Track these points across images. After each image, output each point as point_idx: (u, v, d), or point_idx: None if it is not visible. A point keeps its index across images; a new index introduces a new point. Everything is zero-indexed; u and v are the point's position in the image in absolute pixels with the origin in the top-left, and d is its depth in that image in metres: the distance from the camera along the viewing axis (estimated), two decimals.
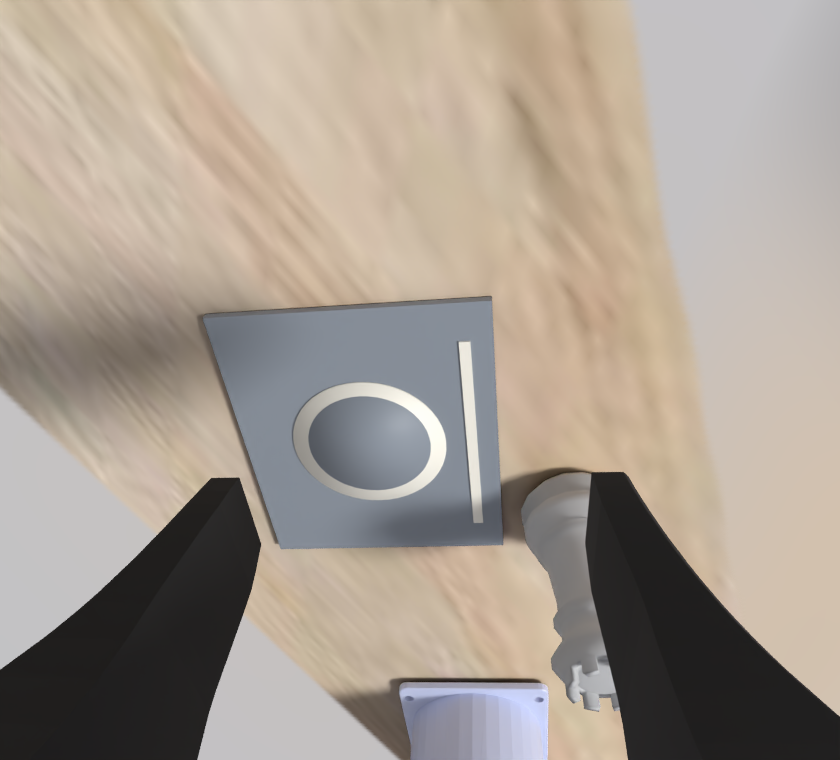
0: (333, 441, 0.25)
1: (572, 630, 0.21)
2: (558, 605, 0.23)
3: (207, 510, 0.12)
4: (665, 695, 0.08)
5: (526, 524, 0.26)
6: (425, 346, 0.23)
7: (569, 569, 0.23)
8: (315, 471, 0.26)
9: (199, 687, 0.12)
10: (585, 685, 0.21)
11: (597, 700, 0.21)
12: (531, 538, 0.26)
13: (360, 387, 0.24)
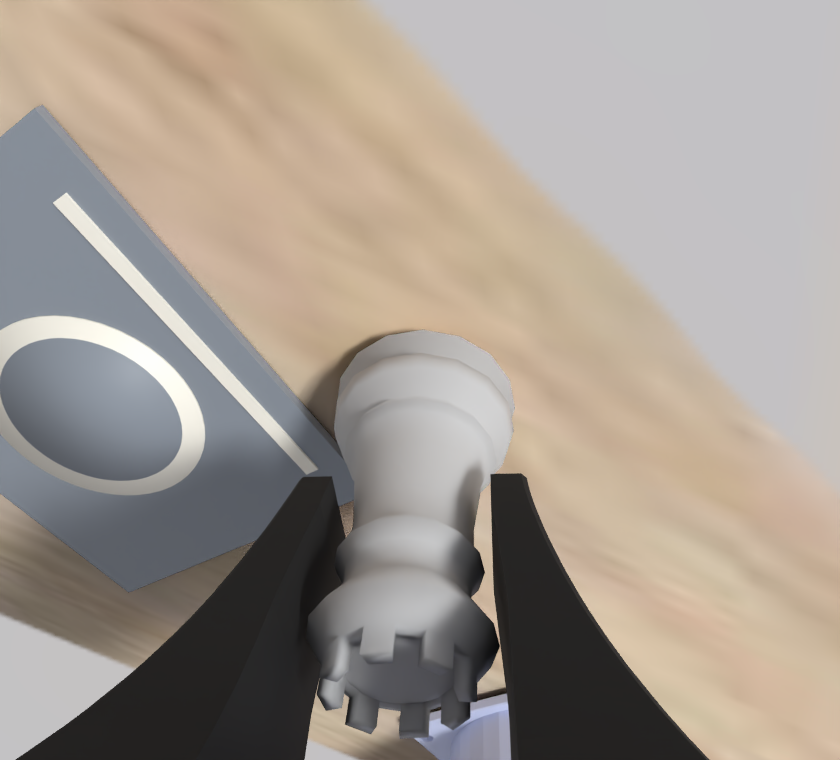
0: (53, 427, 0.18)
1: None
2: None
3: (307, 508, 0.12)
4: (513, 692, 0.09)
5: None
6: (25, 232, 0.14)
7: (358, 492, 0.13)
8: (69, 476, 0.19)
9: (305, 689, 0.11)
10: (375, 694, 0.11)
11: (418, 716, 0.11)
12: None
13: (11, 335, 0.16)
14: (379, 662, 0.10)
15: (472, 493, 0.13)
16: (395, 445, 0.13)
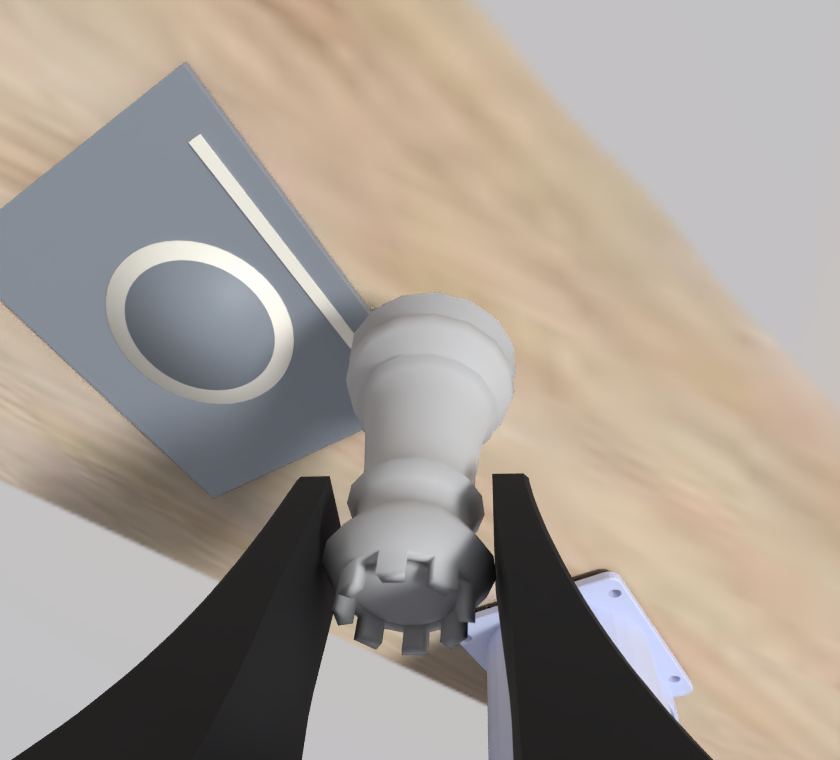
0: (165, 341, 0.21)
1: None
2: None
3: (305, 508, 0.12)
4: (516, 692, 0.08)
5: None
6: (162, 168, 0.18)
7: (370, 438, 0.14)
8: (174, 387, 0.22)
9: (302, 689, 0.11)
10: (381, 614, 0.12)
11: (419, 636, 0.12)
12: None
13: (139, 258, 0.20)
14: (391, 581, 0.11)
15: (476, 444, 0.14)
16: (407, 396, 0.14)
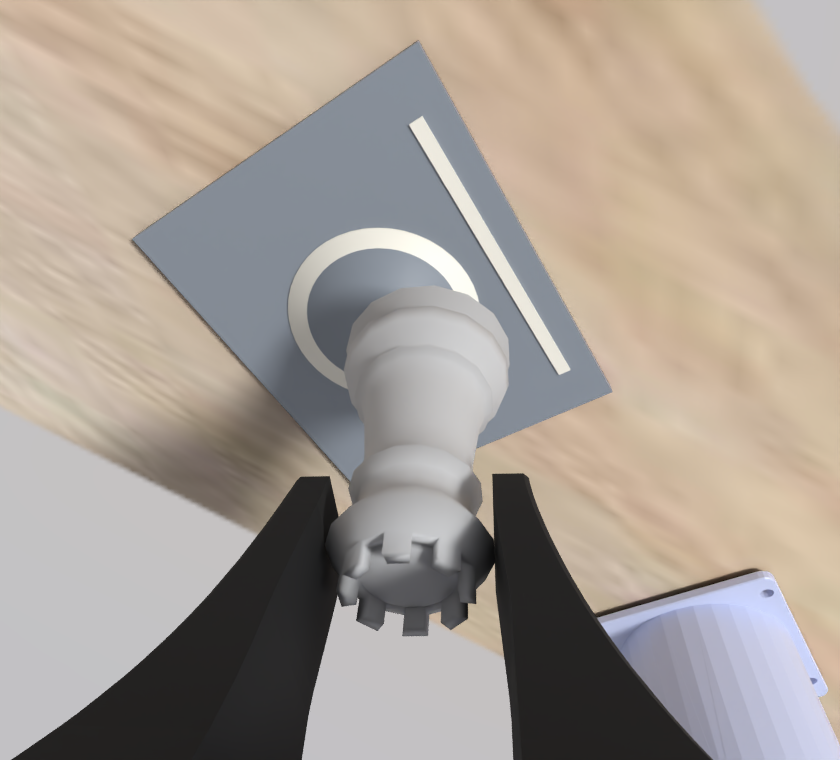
0: (344, 333, 0.21)
1: None
2: None
3: (305, 508, 0.12)
4: (516, 692, 0.08)
5: None
6: (375, 151, 0.17)
7: (371, 426, 0.14)
8: (345, 380, 0.22)
9: (302, 689, 0.11)
10: (384, 596, 0.12)
11: (420, 617, 0.12)
12: None
13: (333, 246, 0.19)
14: (397, 562, 0.11)
15: (473, 433, 0.15)
16: (407, 385, 0.14)
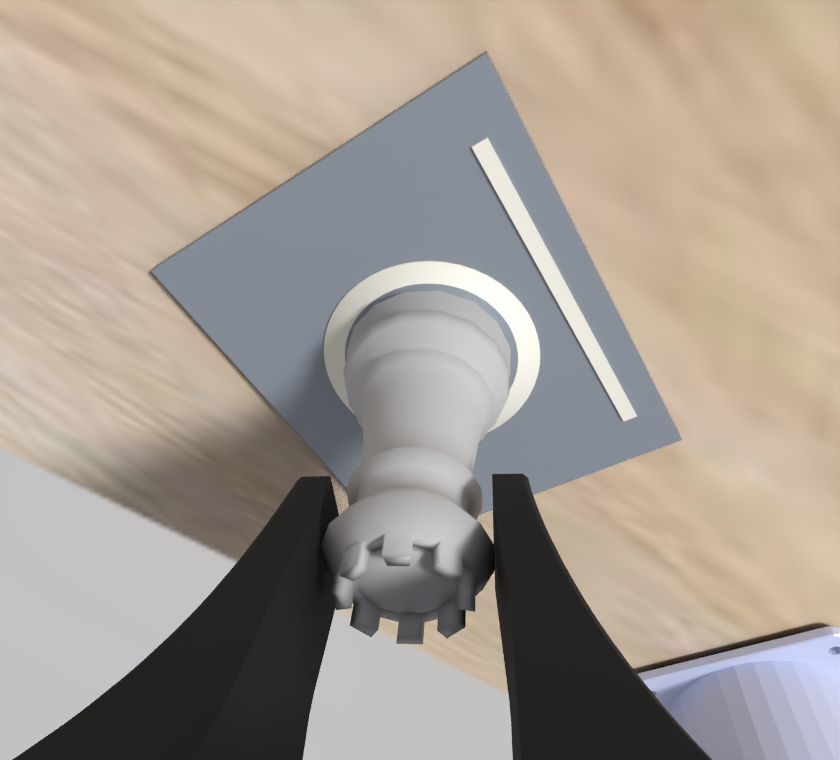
0: None
1: None
2: None
3: (305, 509, 0.12)
4: (516, 692, 0.08)
5: None
6: (431, 177, 0.15)
7: (370, 428, 0.14)
8: None
9: (303, 689, 0.11)
10: (380, 601, 0.12)
11: (415, 624, 0.12)
12: (355, 411, 0.17)
13: (377, 281, 0.17)
14: (397, 565, 0.11)
15: (474, 440, 0.14)
16: (410, 388, 0.14)
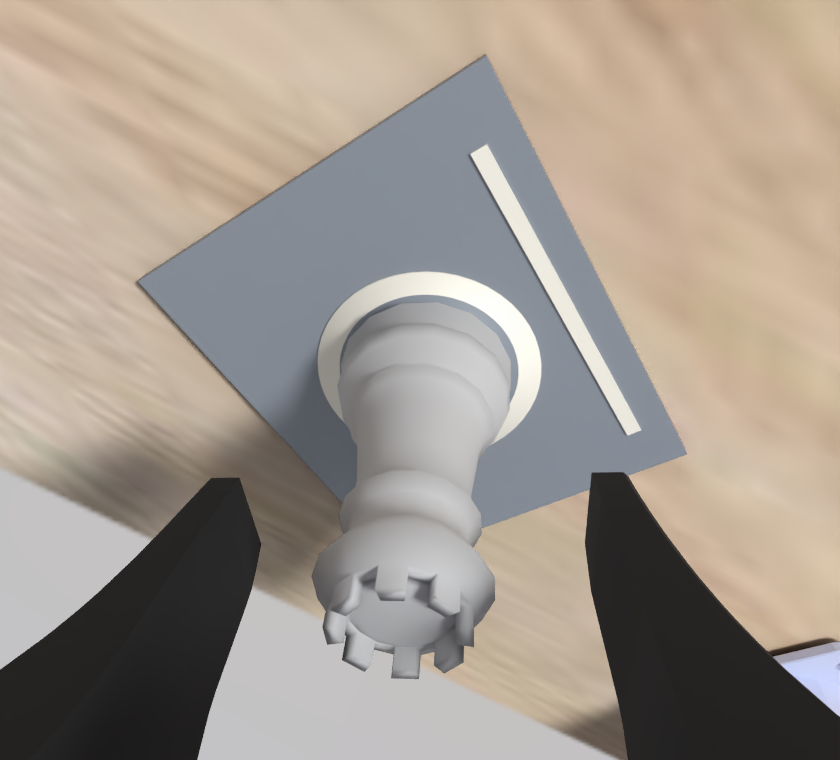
0: None
1: None
2: None
3: (207, 510, 0.12)
4: (665, 695, 0.08)
5: None
6: (428, 185, 0.15)
7: (365, 447, 0.14)
8: None
9: (199, 687, 0.12)
10: (373, 634, 0.11)
11: (411, 658, 0.11)
12: (349, 427, 0.16)
13: (373, 292, 0.16)
14: (391, 600, 0.10)
15: (473, 460, 0.14)
16: (406, 406, 0.14)
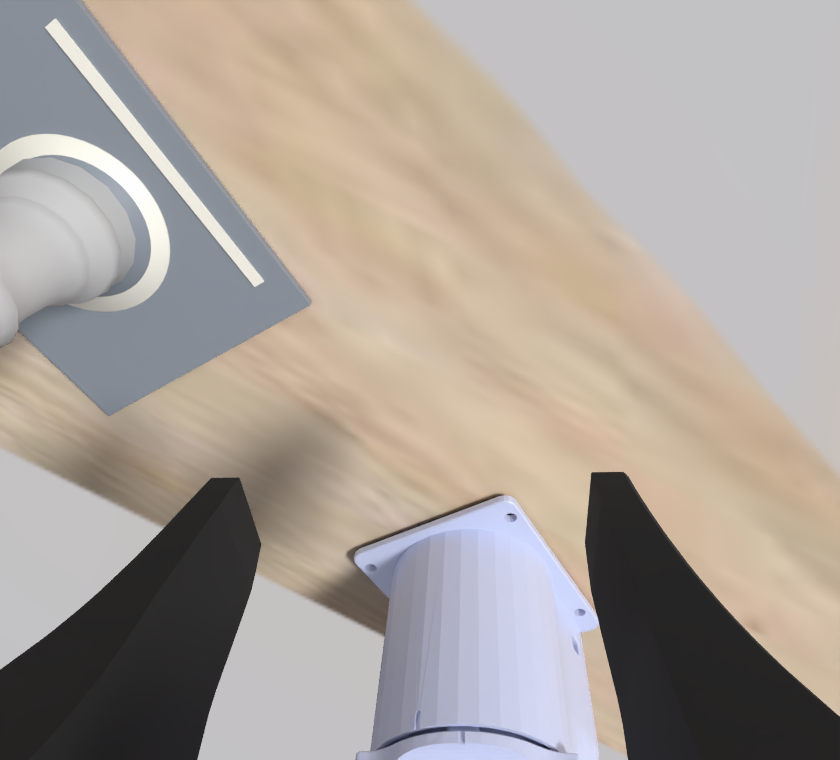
0: None
1: None
2: None
3: (207, 509, 0.12)
4: (665, 695, 0.08)
5: None
6: (23, 55, 0.18)
7: None
8: None
9: (199, 687, 0.12)
10: None
11: None
12: None
13: (10, 153, 0.20)
14: None
15: (38, 266, 0.17)
16: None
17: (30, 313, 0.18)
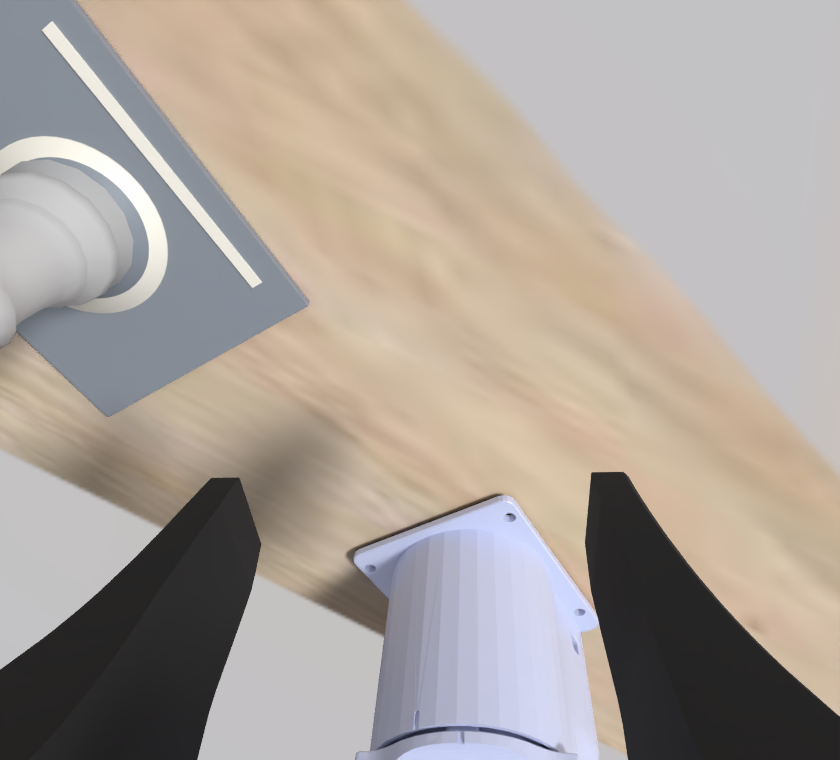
0: None
1: None
2: None
3: (207, 510, 0.12)
4: (665, 695, 0.08)
5: None
6: (20, 58, 0.18)
7: None
8: None
9: (199, 687, 0.12)
10: None
11: None
12: None
13: (8, 155, 0.20)
14: None
15: (35, 268, 0.17)
16: None
17: (28, 315, 0.18)
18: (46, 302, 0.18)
